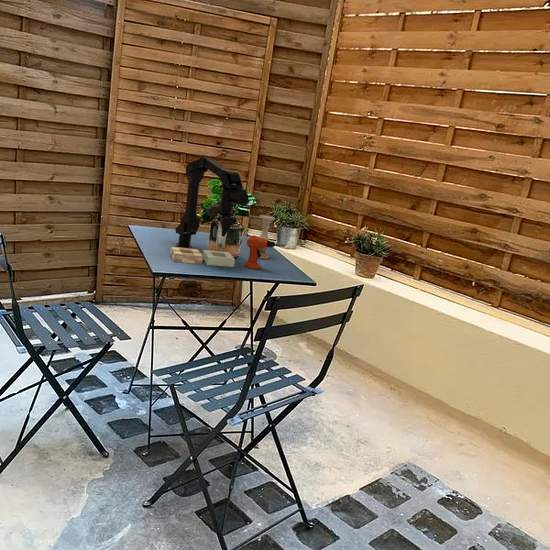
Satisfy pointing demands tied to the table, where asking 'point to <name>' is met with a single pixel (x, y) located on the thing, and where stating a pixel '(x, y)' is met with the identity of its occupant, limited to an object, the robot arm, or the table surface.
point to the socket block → (186, 255)
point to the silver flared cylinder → (220, 237)
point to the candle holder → (265, 234)
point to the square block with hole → (218, 258)
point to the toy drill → (254, 245)
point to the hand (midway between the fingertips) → (221, 235)
